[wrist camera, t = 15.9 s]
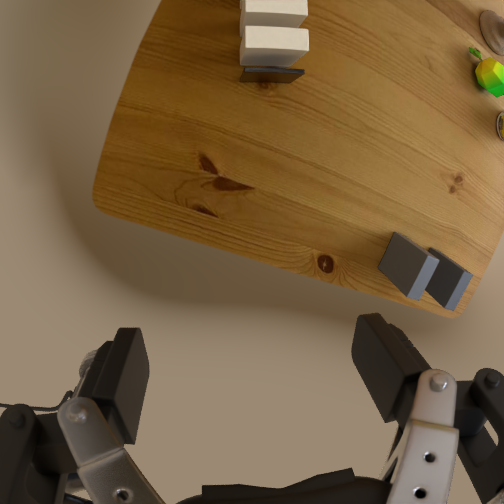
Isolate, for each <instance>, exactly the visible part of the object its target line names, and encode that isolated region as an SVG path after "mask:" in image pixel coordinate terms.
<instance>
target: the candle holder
mask: <svg viewBox="0 0 504 504" xmlns="http://www.w3.org/2000/svg"><path fill="white" fill-rule="evenodd" d="M480 28H481V31H482V34H483V36H484V38H485V40H486V42H487V44H488V45H489V46H490V48H491V49H492V50H493V51H494V52H495V53H497V54H499V55H501V56H504V19H503V18H502V17H500V16H499V15H498V14H497V13H495V12H493V11H490V10H487V11H484V12H483V13H482V14H481V16H480Z"/></svg>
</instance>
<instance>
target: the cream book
mask: <svg viewBox="0 0 504 504" xmlns="http://www.w3.org/2000/svg"><path fill="white" fill-rule="evenodd" d="M308 51H309V37H308V29H299V28H287V27H271V26H245V29H244V33H243V37H242V41H241V46H240V66H279V67H290V66H291V65H292V64H294V63H295V62H296V61H297V60H298V59H300V58H301V57H302V56H303V55H304V54H306V53H307V52H308Z"/></svg>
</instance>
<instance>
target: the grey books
mask: <svg viewBox="0 0 504 504" xmlns="http://www.w3.org/2000/svg"><path fill="white" fill-rule="evenodd" d="M378 269H379V270H380V271H382V272H383V273H384V274H385V275H386V276H387V277H388V278H389V280H390V281H391V282H392V283H393V284H394V285H395V286H396V287H397V288H398V289H399V290H400V291H401V292H402V293H403V294H404V295H405V296H406V297H408V298H411V299H415V300H418V301H419V299H420V298H421V296H422V294H423V292H424V290H426V291H427V292H428V293H429V294H430V295H431V296H432V297H433V298H434V299H435V300H436V301H437V302H438V303H439V304H440V305H442V306H443V307H444V308H445V309H449V310H452V311H454V310H455V308H456V306H457V304H458V302H459V301H460V299H461V297H462V295H463V293H464V291H465V290H466V288H467V286H468V284H469V282H470V280H471V278H472V276H473V275H472V274H471V273H470V272H468V271H467V270H465V269H464V268H463V267H461V266H460V265H459V264H457V263H456V262H454V261H453V260H451V259H450V258H449V257H447V256H446V255H444V254H443V253H441V252H440V251H438V250H435V249H433V248H430V250H429V252H428V251H426V250H425V249H423V248H422V247H420V246H419V245H418V244H416V243H415V242H413V241H412V240H410V239H409V238H407V237H406V236H404V235H401V234H399V233H397V232H394V234H393V237H392V239H391V241H390V243H389V245H388V247H387V250H386V252H385V254H384V256H383V258H382V260H381V262H380V264H379V266H378Z"/></svg>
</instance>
